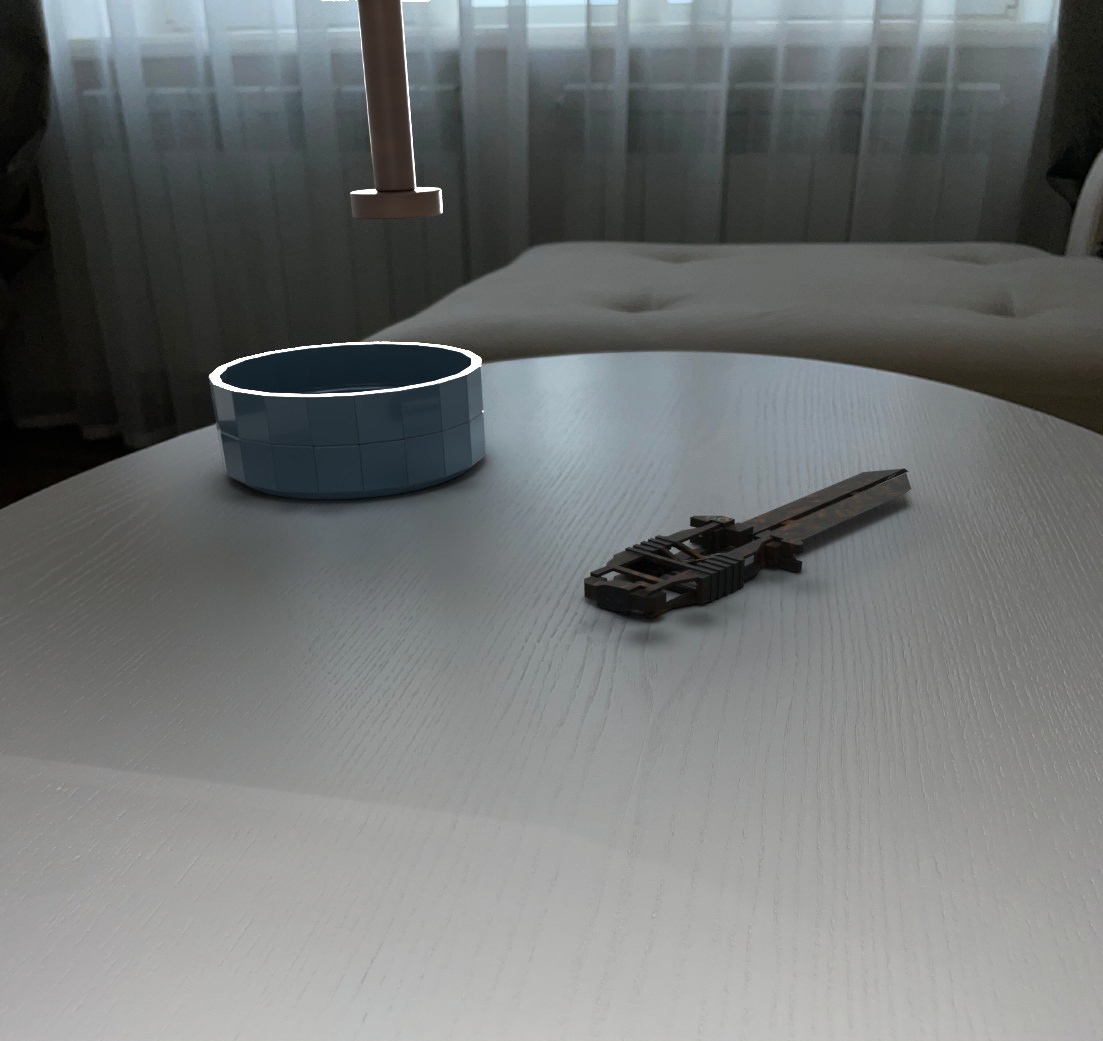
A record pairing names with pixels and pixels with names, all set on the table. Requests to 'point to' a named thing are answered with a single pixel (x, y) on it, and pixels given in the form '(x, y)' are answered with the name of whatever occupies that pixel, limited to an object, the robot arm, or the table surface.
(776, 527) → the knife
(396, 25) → the stirrer
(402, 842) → the table surface
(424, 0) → the robot arm
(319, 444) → the bowl
